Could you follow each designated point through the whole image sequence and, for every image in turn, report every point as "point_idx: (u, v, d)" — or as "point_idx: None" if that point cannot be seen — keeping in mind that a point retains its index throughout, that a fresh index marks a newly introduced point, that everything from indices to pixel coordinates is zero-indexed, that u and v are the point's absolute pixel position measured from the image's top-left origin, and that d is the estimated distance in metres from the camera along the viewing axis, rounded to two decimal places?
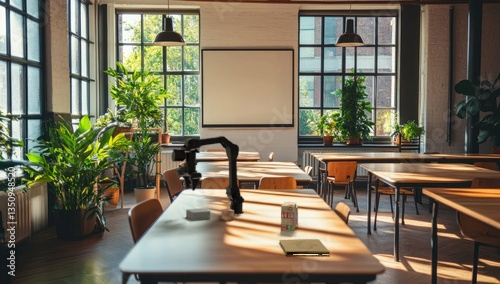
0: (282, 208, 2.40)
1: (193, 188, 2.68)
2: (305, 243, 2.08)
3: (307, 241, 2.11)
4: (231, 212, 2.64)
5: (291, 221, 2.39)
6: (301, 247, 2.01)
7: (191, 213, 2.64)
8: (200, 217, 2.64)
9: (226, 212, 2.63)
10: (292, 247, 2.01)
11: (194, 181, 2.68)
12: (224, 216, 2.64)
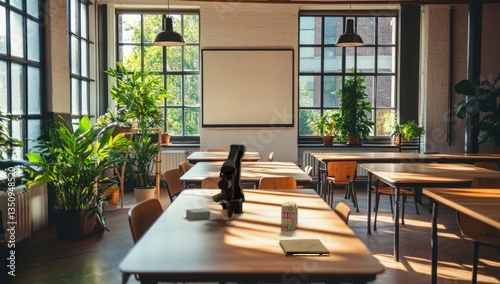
0: (282, 208, 2.40)
1: (230, 215, 2.63)
2: (305, 243, 2.08)
3: (307, 241, 2.11)
4: None
5: (291, 221, 2.40)
6: (301, 247, 2.01)
7: (191, 213, 2.64)
8: (200, 217, 2.64)
9: (226, 212, 2.63)
10: (292, 247, 2.01)
11: (231, 208, 2.63)
12: (224, 216, 2.64)
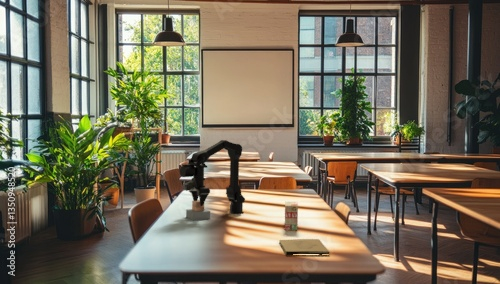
0: (286, 208, 2.40)
1: (201, 203, 2.64)
2: (305, 243, 2.08)
3: (307, 241, 2.11)
4: None
5: (295, 221, 2.40)
6: (301, 247, 2.01)
7: (191, 213, 2.64)
8: (200, 217, 2.64)
9: (196, 203, 2.66)
10: (292, 247, 2.01)
11: (202, 196, 2.64)
12: (195, 207, 2.66)
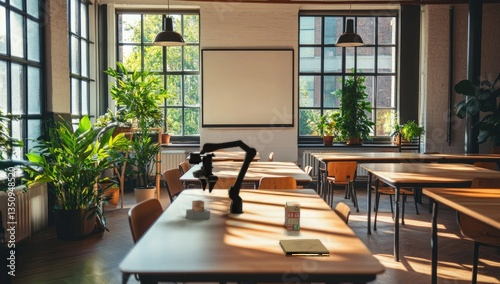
0: (288, 208, 2.41)
1: (210, 190, 2.79)
2: (305, 243, 2.08)
3: (307, 241, 2.11)
4: (201, 203, 2.67)
5: (297, 221, 2.41)
6: (301, 247, 2.01)
7: (191, 213, 2.64)
8: (200, 217, 2.64)
9: (196, 203, 2.66)
10: (292, 247, 2.01)
11: (211, 184, 2.79)
12: (195, 207, 2.66)
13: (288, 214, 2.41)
